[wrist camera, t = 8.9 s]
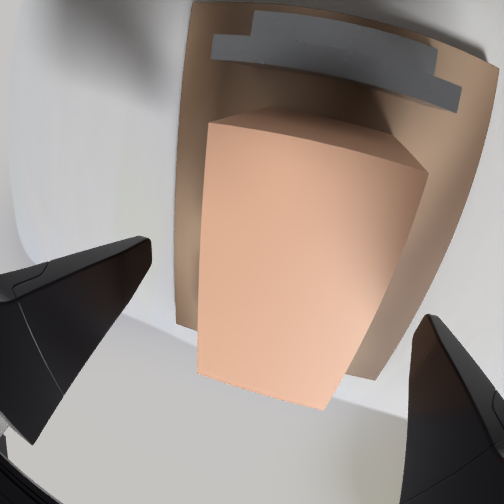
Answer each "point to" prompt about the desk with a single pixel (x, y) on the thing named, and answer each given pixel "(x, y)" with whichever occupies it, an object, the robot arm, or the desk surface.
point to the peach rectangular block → (297, 247)
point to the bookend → (341, 56)
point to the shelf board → (347, 110)
